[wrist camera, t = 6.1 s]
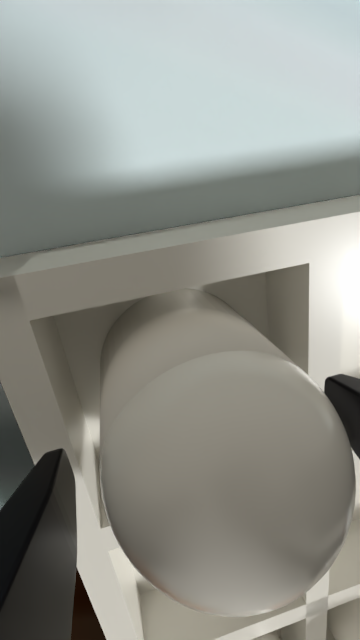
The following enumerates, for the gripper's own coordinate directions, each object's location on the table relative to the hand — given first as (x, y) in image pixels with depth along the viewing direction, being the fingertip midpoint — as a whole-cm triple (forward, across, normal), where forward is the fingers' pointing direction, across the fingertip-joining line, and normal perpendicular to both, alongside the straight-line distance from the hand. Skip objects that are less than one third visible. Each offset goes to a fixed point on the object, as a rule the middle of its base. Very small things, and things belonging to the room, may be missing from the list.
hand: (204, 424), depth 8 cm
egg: (+3, 0, 0) cm, 3 cm away
